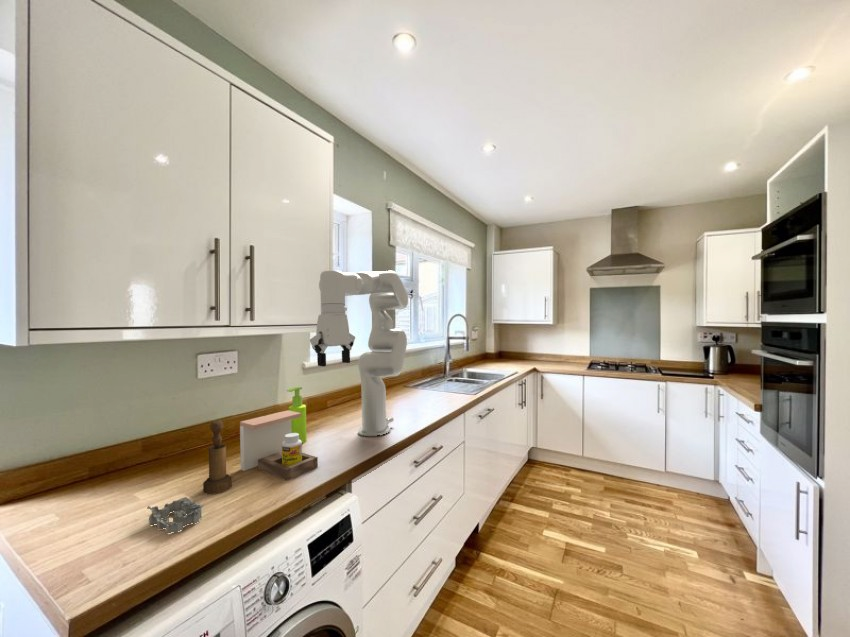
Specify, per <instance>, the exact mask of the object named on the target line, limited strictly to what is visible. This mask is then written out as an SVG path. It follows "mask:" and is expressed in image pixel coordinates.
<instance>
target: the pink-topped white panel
mask: <svg viewBox="0 0 850 637" xmlns="http://www.w3.org/2000/svg"><path fill="white" fill-rule="evenodd" d="M299 417H301V413H298V412H293V411H289V409H287V410H284V411H279V412H276V413H275V412H274V413H270V414H267V415H262V416H259V417H254V418H251V419H246V420H241V421H240V422H239V438H240V440H239V441H240V442H239V444H240V445H239V446H240V447H239V448H240V450H239V451H240V470H241V471H244V472H245V471H247V470H250V469H251V470H252V469H253V468H256V467H258V459H261V458H264V457H267V456H269V455H272V454H275V453H278V452H281V451H282V443H283V442H284V441H285V435H286V434H290V433H291V419H295V418H299Z"/></svg>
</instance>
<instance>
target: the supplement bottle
mask: <svg viewBox="0 0 850 637" xmlns="http://www.w3.org/2000/svg"><path fill="white" fill-rule="evenodd" d="M302 453H303V444H302V441H301V440H299V434H298V433H290V434H286V435H285V441H284V442H283V443H282V465H284V466H287V467H288V466H291V465H293V464H296V463H298V462H301V461H302Z"/></svg>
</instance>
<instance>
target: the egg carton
mask: <svg viewBox="0 0 850 637" xmlns="http://www.w3.org/2000/svg"><path fill="white" fill-rule="evenodd" d="M203 506H204V504H203V505H202V504H199V503H197V501H193V500H190V499H189V498H188V497H186V496H184V497H181V498H179V499H177V500H176V499H175V500H173V501H172V502H171V503H165V504H164V507H162V508H160V509H159V507H158V505H156V506H153V507H151V506H150V505H148V506H147V508H146V509H148V510H150V511H151V514H150V515H149V516H148V523H149V526H150V525H154V524H157V525H156V529H163V528H166V529H165V534H166V533H171V532H178V531H180V530H182V529H184V528H183V526H185V525H187V524H191V523H193V524H195V523H197V522H199V523H200V520H201V519H202V508H203ZM173 511H174V512H173ZM170 512H173V513H172V515H173V516H172V517H173V522H170V523H169V518H170V517H169V516H170V514H169V513H170ZM186 514H187V515H186ZM168 515H169V516H168ZM167 516H168V517H167ZM165 517H167V518H165ZM161 518H164V519H161ZM200 518H201V519H200ZM199 519H200V520H199ZM197 524H198V523H197ZM195 525H196V524H195ZM185 527H186V526H185ZM163 530H164V529H163Z"/></svg>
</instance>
